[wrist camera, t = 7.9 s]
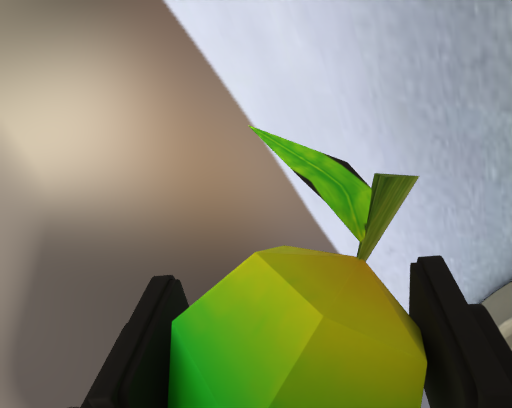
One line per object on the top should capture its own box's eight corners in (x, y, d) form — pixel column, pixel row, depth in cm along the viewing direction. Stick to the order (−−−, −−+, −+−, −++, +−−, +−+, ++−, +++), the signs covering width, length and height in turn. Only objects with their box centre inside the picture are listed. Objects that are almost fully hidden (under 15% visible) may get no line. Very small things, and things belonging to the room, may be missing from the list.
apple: (331, 438, 13) (474, 215, 11) (371, 708, 7) (698, 296, 5) (151, 343, 13) (270, 108, 12) (26, 522, 7) (249, 61, 5)
